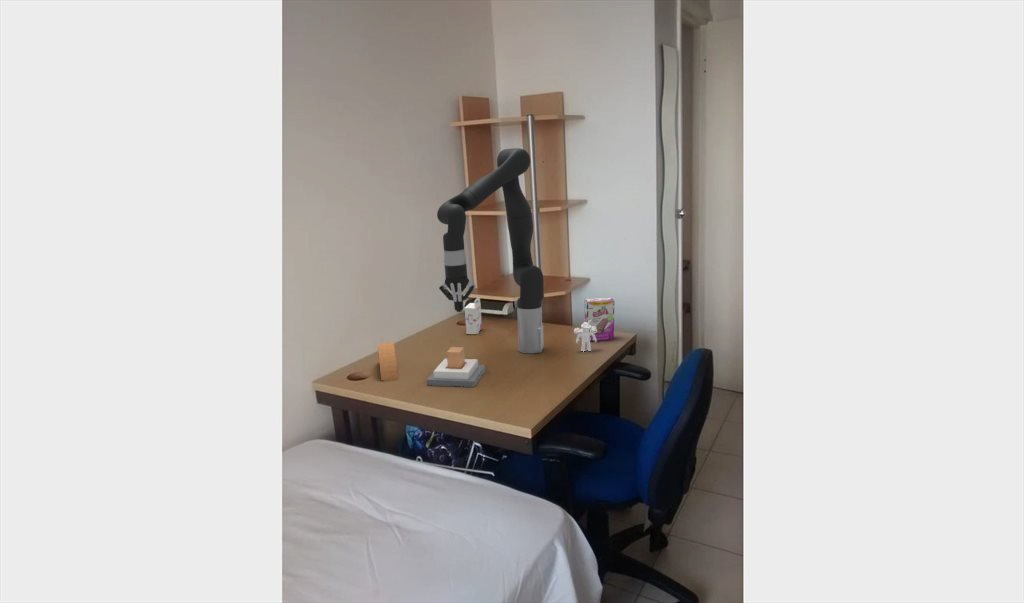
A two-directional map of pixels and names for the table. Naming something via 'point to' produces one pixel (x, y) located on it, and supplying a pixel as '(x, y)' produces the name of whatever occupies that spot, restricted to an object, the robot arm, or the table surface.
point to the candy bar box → (600, 317)
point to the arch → (387, 361)
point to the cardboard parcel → (455, 358)
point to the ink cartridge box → (473, 317)
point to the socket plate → (457, 382)
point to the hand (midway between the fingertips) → (459, 311)
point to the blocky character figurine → (585, 335)
